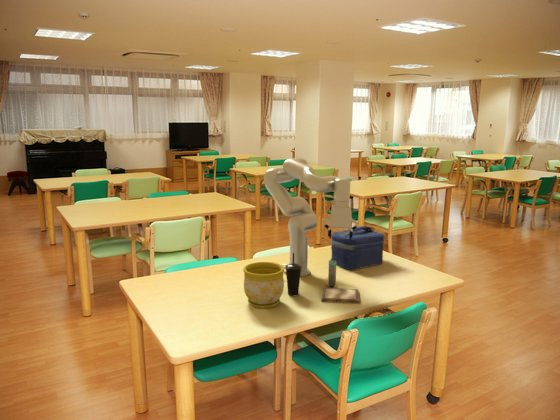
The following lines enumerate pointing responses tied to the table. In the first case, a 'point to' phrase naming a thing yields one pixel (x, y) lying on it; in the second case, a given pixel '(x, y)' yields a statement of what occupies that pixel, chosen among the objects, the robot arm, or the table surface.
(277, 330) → the table surface
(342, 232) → the lunch bag
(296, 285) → the drinking cup
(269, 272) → the flowerpot
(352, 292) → the board
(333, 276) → the translucent bottle
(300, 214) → the robot arm
